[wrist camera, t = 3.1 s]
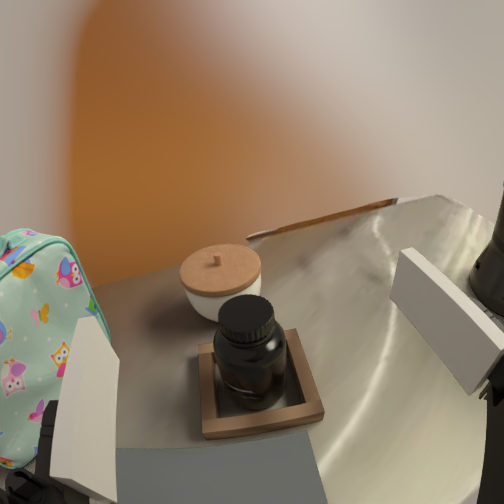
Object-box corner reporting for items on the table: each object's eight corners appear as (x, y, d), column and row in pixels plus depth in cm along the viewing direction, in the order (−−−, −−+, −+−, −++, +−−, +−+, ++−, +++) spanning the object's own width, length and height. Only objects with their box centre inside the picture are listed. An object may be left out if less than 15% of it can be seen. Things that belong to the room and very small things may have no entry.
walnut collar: (295, 338, 37) (295, 328, 36) (322, 419, 27) (324, 411, 26) (201, 354, 36) (198, 344, 35) (207, 440, 26) (202, 432, 25)
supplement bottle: (229, 416, 28) (205, 348, 22) (223, 368, 34) (202, 292, 28) (293, 405, 29) (294, 332, 22) (280, 358, 34) (275, 280, 28)
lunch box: (86, 325, 41) (30, 202, 30) (131, 344, 38) (70, 201, 27) (-10, 442, 21) (-114, 328, 9) (26, 487, 17) (-114, 368, 6)
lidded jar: (213, 280, 49) (202, 230, 44) (275, 292, 45) (271, 238, 40) (177, 324, 41) (159, 271, 36) (247, 344, 37) (237, 287, 32)
